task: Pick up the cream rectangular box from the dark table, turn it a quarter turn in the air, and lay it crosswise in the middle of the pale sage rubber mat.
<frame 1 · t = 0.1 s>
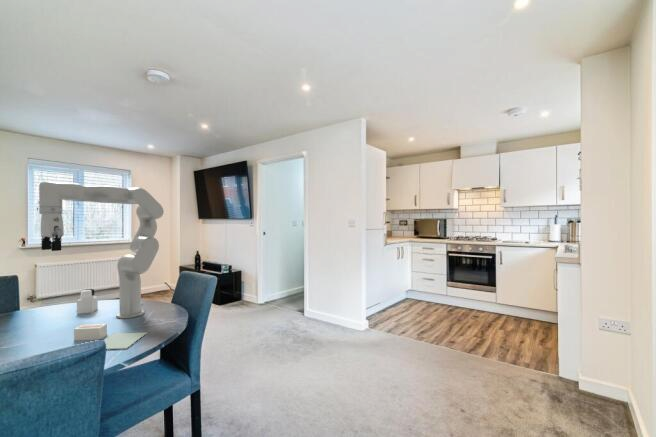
hand: (51, 250, 136), 37 cm above the table, tool pointing down, fingers open, 9 cm apart
mat: (119, 341, 129), on the table
cream rectangular box: (90, 338, 133), on the table
medicine bottle: (87, 311, 171), on the table
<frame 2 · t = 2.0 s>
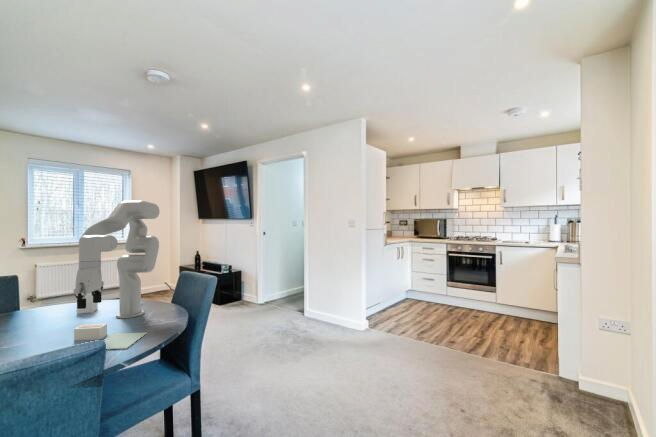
hand: (89, 305, 133), 14 cm above the table, tool pointing down, fingers open, 9 cm apart
nothing on the table moved.
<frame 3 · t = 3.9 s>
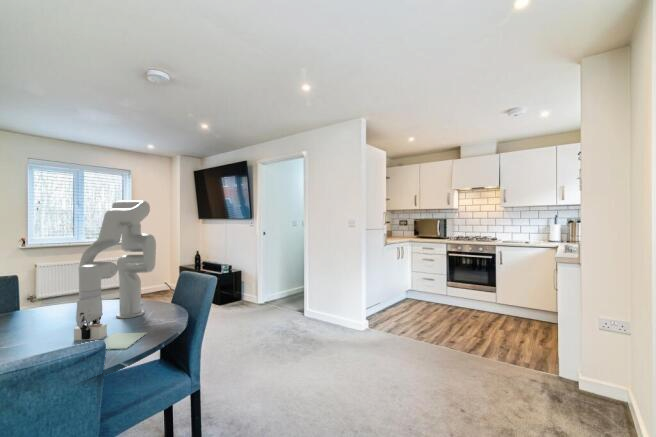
hand: (90, 335, 133), 1 cm above the table, tool pointing down, fingers closed on cream rectangular box, 5 cm apart
cream rectangular box: (90, 337, 133), on the table, touching gripper
everything else where it was.
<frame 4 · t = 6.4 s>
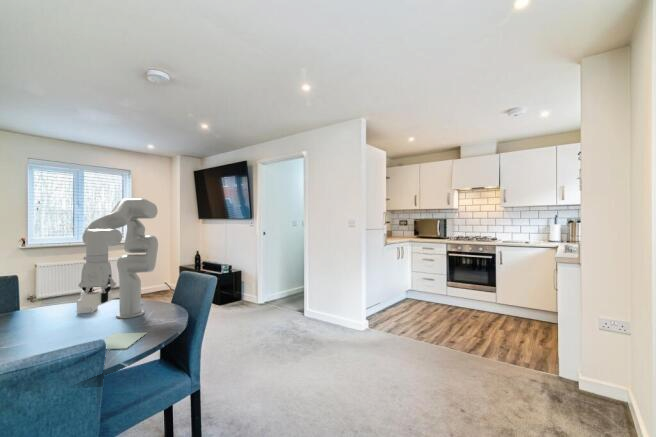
hand: (97, 301, 132), 16 cm above the table, tool pointing down, fingers closed on cream rectangular box, 5 cm apart
cream rectangular box: (97, 303, 132), point 15 cm above the table, touching gripper
everything else where it was.
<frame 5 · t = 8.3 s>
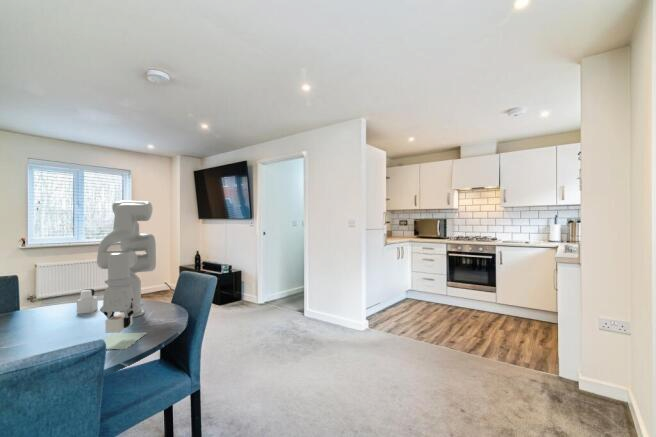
hand: (119, 326, 128), 6 cm above the table, tool pointing down, fingers closed on cream rectangular box, 5 cm apart
cream rectangular box: (119, 328, 128), point 6 cm above the table, touching gripper
everything else where it was.
when the fingers open (2 cm above the table, at t = 9.4 s): cream rectangular box stays where it is, resting on mat.
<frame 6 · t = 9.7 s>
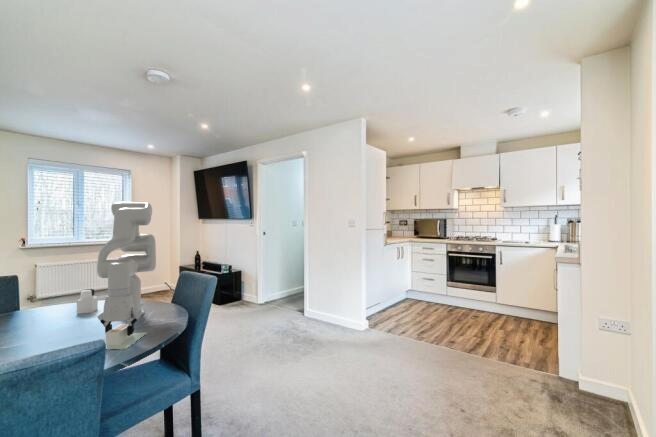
hand: (119, 334, 129), 3 cm above the table, tool pointing down, fingers open, 7 cm apart
cream rectangular box: (119, 340, 129), point 1 cm above the table, touching mat
everything else where it was.
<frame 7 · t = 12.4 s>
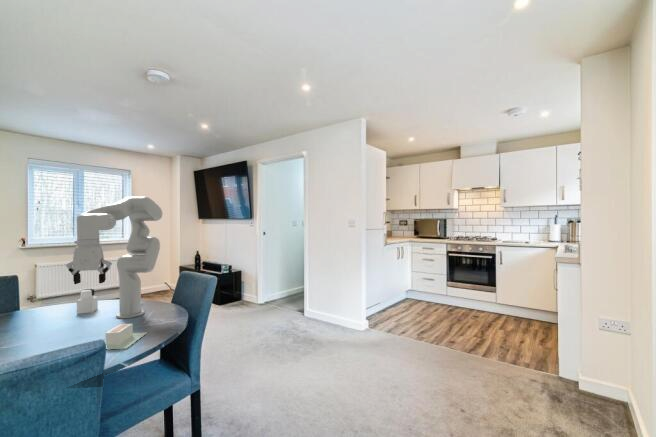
hand: (89, 283, 134), 23 cm above the table, tool pointing down, fingers open, 9 cm apart
nothing on the table moved.
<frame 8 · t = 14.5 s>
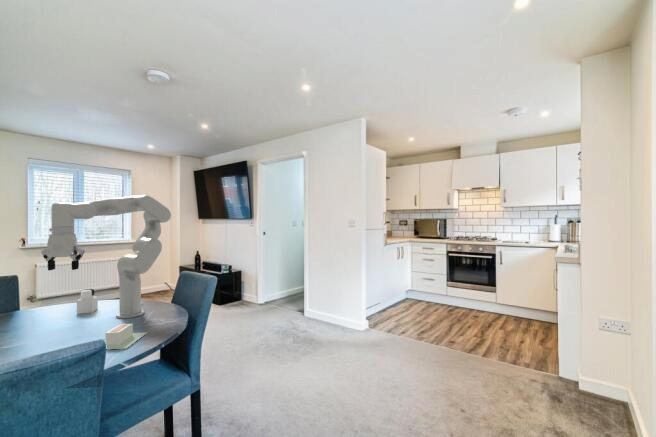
hand: (63, 269, 138), 28 cm above the table, tool pointing down, fingers open, 9 cm apart
nothing on the table moved.
at the end: cream rectangular box inside the target area on the mat (0.1 cm from its centre), point 0.6 cm above the mat's base; cream rectangular box tilted 0°; the gripper is holding nothing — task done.
